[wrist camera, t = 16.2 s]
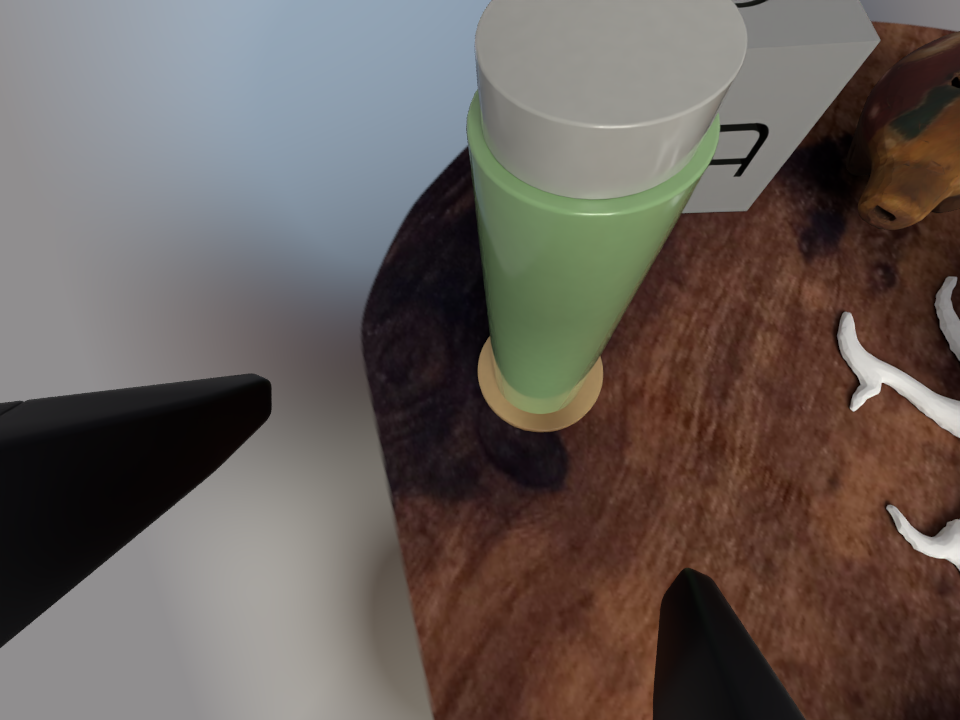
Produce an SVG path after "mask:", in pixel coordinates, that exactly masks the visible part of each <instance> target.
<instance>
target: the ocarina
mask: <svg viewBox="0 0 960 720" xmlns="http://www.w3.org/2000/svg"><path fill="white" fill-rule="evenodd" d="M845 166H846V168H847V169H848V171H849V173H850V174H852V175H854V176H865V175H870V178H869V181H868V183H867V185H866V187H865V189H864V191H863V193H862V195H861V198H860V200H859V203H858V212H859V215H860V217H861V218H862V219H863V220H864V221H866V222H867V223H869V224H871V225H873V226H875V227H877V228H879V229H886V230H897V229H902V228H905V227H908V226H911V225H913V224H915V223H917V222H919V221H921V220H922V219H923V218H924V217H925V216H927V215H928V214H929V213H930V212H931V211H932V212H935V213H942V212H949V211H953V210H957V209H960V31H959V32H956V33H952V34H949V35H946V36H944V37H941V38H939V39H937V40H934V41H932V42H930V43H928V44H925V45H924V46H922V47H920V48H918V49H917V50H915V51H913V52H911V53H910V54H908V55H907V56H905V57H904V58H903V59H901V60H900V61H899V62H897V63H896V64H895V65H894V66H893V67H892V68H890V69H889V70H888V71H887V72H886V73H885V74H884V75H883V76H882V78H881V79H880V80H879V81H878V83H877V84H876V85H875V86H874V88H873V89H872V91H871V93H870V95H869V96H868V98H867V101H866V103H865V106H864V108H863V111H862V114H861V116H860V119H859V122H858V125H857V128H856V131H855V133H854V136H853V139H852V143H851V146H850V149H849V152H848V155H847V158H846V165H845Z"/></svg>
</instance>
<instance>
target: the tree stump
mask: <svg viewBox="0 0 960 720" xmlns="http://www.w3.org/2000/svg"><path fill="white" fill-rule="evenodd" d="M956 283H957V277H947V278H946V279H945V282H944V283H943V285H942V287H941V288H940V290H939V291H938V293H937V294H936V302H935V304H934V305H935V307H936V310H937V316H938V318H939V320H940V329H941V330H942V332H943V333H944V335H945V337H946V340H947V341H948V342H949V345H950V350H951V351H952V352H953V353H955V355H956V356H957V358H958V360H959V361H960V320H959V318H958V317H957V315H956V313H955V311H954V309H953V306H952V302H951V295H952V290H953V288H954V287H955V286H956ZM837 338H838V344H839V348H840V351H841V354H842V357H843V358H844V359H845V360H846V361H847V363H848V365H849V366H850V367H851V368H852V370H853V372H854V373H855V374H856V375H857V376H858V379H859V382H860V384H861V385H860V386H859V387H857V390H856V392H855V393H854V394H853V396H852V399H851V405H850V409H851V410H852V411H853V412H854V411H856V410H857V409H858V408H859V407H860V406H861V405H863V404H864V402H865V401H866V399H868V398H870V397H873V396H874V395H876V394H879V392H880V390H881V384H882V383H885V384H887V385H889V386H891V387H892V388H894V389H895V390H896V391H897V392H898V393H899V394H901V395H902V396H904V397H906V398H907V399H908V400H909V401H910V402H911V403H912V404H913V405H915V406H916V407H917V408H918V410H920V411H922V412H923V413H924V414H925V415H926V416H928V417H930V418H932V419H933V420H934V421H935V422H936V423H937V424H938V425H939V426H940V427H941V428H944V429H946V430H948V431H949V432H951V433H952V434H953V435H955V436H957V437H959V438H960V401H957V400H953V399H950V398H947V397H944V396H941V395H939V394H937V393H935V392H933V391H931V390H930V389H928V388H927V387H925V386H924V385H923V384H921V383H920V382H918V381H917V380H915V379H913V378H912V377H911V376H909V375H908V374H906V373H904V372H902V371H900V370H899V369H897V368H895V367H893V366H891V365H889V364H887V363H885V362H883V361H881V360H879V359H877V358H875V357H874V356H873V355H871V354H869V353H868V352H867V351H865V350H864V349H863V347H862V346H861V345H860V343H859V342H858V340H857V336H856V332H855V324H854V320H853V317H852V315H851V313H848V312H844V313H843V314H842V316H841V319H840V324H839V330H838V334H837ZM886 509H887V510H888V511H889V513H890V514H891V515H892V517H893V519H894V521H895V524H896V527H897V529H898V532H900V533H901V534H902V535H903V536H904V538H905V539H906V540H907V541H908V542H910V543H911V544H912V546H913V548H914V549H916V550H918V551H920V552H922V553H924V554H926V555H928V556H931V557H935V558H945V559H947V560H949V561H950V562H952V563H953V564H955V565H956V566H957V568H958V569H959V571H960V519H955V520H953V521H950V522H947V525H946V527H944V528H943V529H942V530H941V531H940V532H939V533H938V534H937V535H936V536H935V537H928V536H926V535H923V534H921V533H920V532H918V531H917V530H916V529H915V528H913V527H912V526H911V525H910V524H909V522H908V521H907V520H906V518H905V517H904V516H903V515H902V514H901V512H900V511H899V510H898V509H897V508H896V507H895V506H893V505H888V506H887V508H886Z"/></svg>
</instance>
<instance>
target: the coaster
mask: <svg viewBox="0 0 960 720" xmlns="http://www.w3.org/2000/svg"><path fill="white" fill-rule="evenodd" d="M478 379H479V385H480V388H481V391H482V394H483V396H484V398H485V400H486V402H487V403H488V405H489V406H490V408H491V409H492V410H493V411H494V412H495V413H496V414H497V415H498V416H499V417H500V418H501V419H503V420H504V421H506V422H507V423H509V424H511V425H513V426H515V427H517V428H520V429H523V430H527V431H532V432H551V431H556V430H560V429H563V428H566V427H568V426H570V425H572V424H574V423H575V422H577V421H578V420H580V419H581V418H582V417H583V416H584V415H586V413H587V412H588V411H589V410H590V409H591V408H592V406H593V405H594V403H595V401H596V400H597V398H598V396H599V393H600V390H601V387H602V381H603V366H602V361H601V357H599V358H598V360H597V362H596V364H595V365H594V367H593V369H592V371H591V372H590V374H589V376H588V378H587V379H586V381H585V383H584V385H583V386H582V388H581V390H580V392H579V393H578V395H577V396H576V398H575V399H574V400H573V401H572V402H571V403H570V404H569V405H567V406H566V407H564V408H562V409H561V410H558V411H556V412H552V413H547V414H534V413H529V412H525V411H523V410H520V409H518V408H516V407H515V406H513V405H512V404H511V403H509V402H508V401H507V400H506V399H505V398H504V396H503V395H502V394H501V392H500V391H499V389H498V386H497V384H496V381H495V375H494V367H493V358H492V349H491V340H490V337H489V338H488V339H487V341H486V343H485V344H484V346H483V348H482V351H481V353H480V357H479V361H478Z"/></svg>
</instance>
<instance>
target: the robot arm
mask: <svg viewBox="0 0 960 720" xmlns="http://www.w3.org/2000/svg"><path fill="white" fill-rule="evenodd" d="M271 406H272V403H271V383H270V381H269V380H267V379H265V378H263V377H260V376H259V375H256V374H243V375H234V376H226V377H217V378H210V379H201V380H192V381H183V382H175V383H166V384H158V385H150V386H141V387H133V388H124V389H116V390H108V391H99V392H91V393H82V394H74V395H66V396H58V397H48V398H40V399H32V400H27V401H25V402H23V401H14V402H5V403H0V648H1V647H2V646H3V645H5V644H6V643H7V642H8V641H9V640H11V639H12V638H13V637H14V636H16V635H17V634H18V633H19V632H20V631H21V630H23V629H24V628H25V627H26V626H28V625H29V624H30V623H31V622H33V621H34V620H35V619H36V618H37V617H38V616H40V615H41V614H42V613H43V612H45V611H46V610H47V609H48V608H49V607H51V606H52V605H53V604H54V603H56V602H57V601H58V600H59V599H60V598H62V597H63V596H64V595H65V594H67V593H68V592H69V591H70V590H71V589H73V588H74V587H75V586H76V585H77V584H78V583H80V582H81V581H82V580H84V579H85V578H86V577H87V576H88V575H90V574H91V573H92V572H93V571H94V570H96V569H97V568H98V567H99V566H101V565H102V564H103V563H104V562H105V561H107V560H108V559H109V558H110V557H112V556H113V555H114V554H115V553H116V552H118V551H119V550H120V549H121V548H122V547H123V546H125V545H126V544H127V543H129V542H130V541H131V540H132V539H133V538H135V537H136V536H137V535H138V534H139V533H141V532H142V531H143V530H144V529H146V528H147V527H148V526H149V525H150V524H151V523H153V522H154V521H155V520H157V519H158V518H159V517H160V516H161V515H163V514H164V513H165V512H166V511H168V509H170V508H171V507H172V506H174V505H175V504H176V503H177V502H178V501H180V499H182V498H183V497H185V496H186V495H187V494H188V493H189V492H191V491H192V490H193V489H194V488H195V487H196V486H198V485H199V484H200V483H202V482H203V481H204V480H205V479H206V478H207V477H209V476H210V475H211V474H212V473H213V472H214V471H216V470H217V469H218V468H219V467H220V466H221V465H222V464H223V463H224V462H225V461H226V460H227V459H228V458H229V457H230V456H231V455H232V454H233V453H234V452H235V451H236V450H237V449H238V448H239V447H240V446H241V445H242V444H243V443H244V442H245V441H246V440H247V439H248V438H249V437H251V436H252V435H253V434H254V433H255V432H256V431H257V430H258V429H259V428H260V427H261V426H262V425H263V424H264V423H265V422H266V421H267V419H268V418H269V416H270V414H271ZM653 720H806V719H805V718H804V716H803V715H802V713H801V712H800V710H799V709H798V707H797V706H796V704H795V703H794V701H793V700H792V698H791V697H790V695H789V694H788V692H787V691H786V689H785V688H784V686H783V685H782V683H781V682H780V680H779V679H778V677H777V676H776V674H775V673H774V671H773V670H772V668H771V667H770V665H769V664H768V662H767V661H766V659H765V658H764V656H763V655H762V653H761V652H760V650H759V648H758V647H757V645H756V644H755V642H754V641H753V639H752V638H751V636H750V635H749V633H748V632H747V630H746V629H745V627H744V626H743V624H742V623H741V621H740V620H739V618H738V617H737V615H736V614H735V612H734V611H733V609H732V608H731V606H730V605H729V603H728V602H727V600H726V599H725V597H724V596H723V594H722V593H721V591H720V590H719V588H718V587H717V585H716V584H715V582H714V581H713V580H712V579H711V578H710V577H709V576H707V575H705V574H702V573H700V572H698V571H696V570H693V569H691V568H685V569H683V570H682V571H681V572H680V573H679V575H678V576H677V577H676V579H675V580H674V582H673V583H672V584H671V586H670V587H669V589H668V590H667V591H666V593H665V594H664V596H663V599H662V602H661V608H660V619H659V631H658V643H657V655H656V666H655V678H654V693H653Z"/></svg>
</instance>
